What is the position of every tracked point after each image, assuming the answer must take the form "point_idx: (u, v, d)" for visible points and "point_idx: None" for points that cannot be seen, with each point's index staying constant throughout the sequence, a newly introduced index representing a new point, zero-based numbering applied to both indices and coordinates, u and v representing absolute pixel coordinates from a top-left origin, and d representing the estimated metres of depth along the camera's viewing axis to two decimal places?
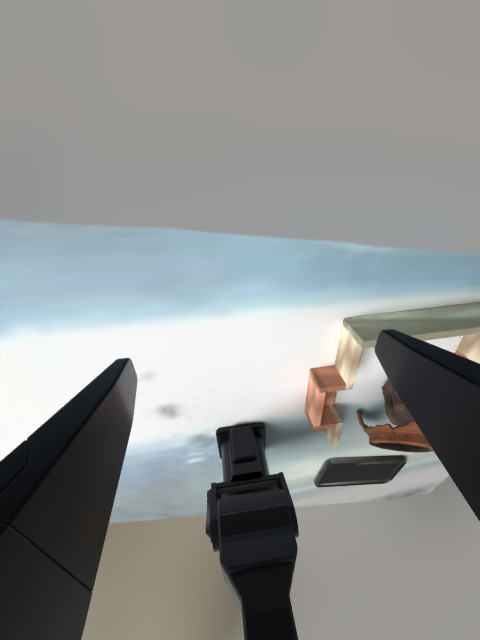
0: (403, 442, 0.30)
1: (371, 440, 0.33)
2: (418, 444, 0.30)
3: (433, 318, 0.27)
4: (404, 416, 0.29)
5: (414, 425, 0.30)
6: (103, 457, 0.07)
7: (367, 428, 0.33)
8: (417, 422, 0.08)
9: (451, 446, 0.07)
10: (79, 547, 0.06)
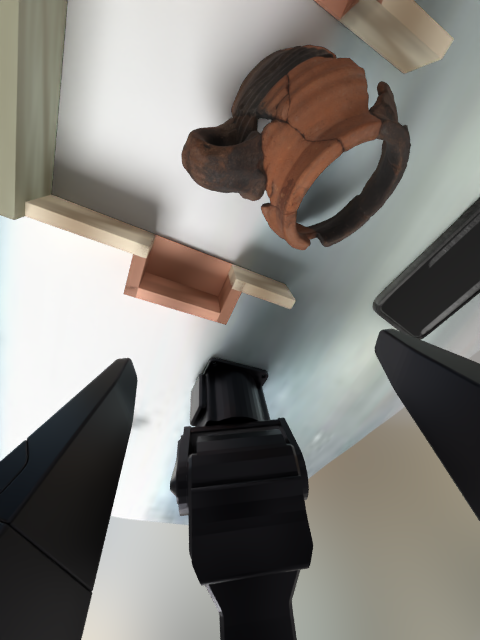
0: (291, 204, 0.13)
1: (296, 248, 0.16)
2: (313, 173, 0.12)
3: None
4: (217, 178, 0.13)
5: (274, 156, 0.12)
6: (103, 457, 0.07)
7: (283, 238, 0.17)
8: (417, 422, 0.08)
9: (451, 446, 0.07)
10: (79, 547, 0.06)
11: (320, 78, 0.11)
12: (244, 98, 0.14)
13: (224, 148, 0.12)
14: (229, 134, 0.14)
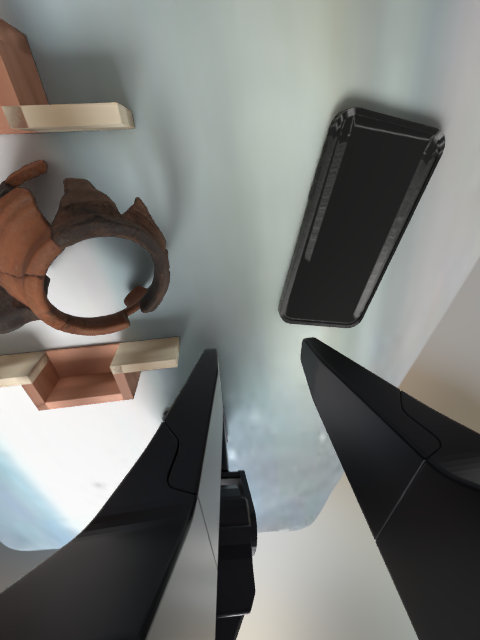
0: (51, 324, 0.14)
1: None
2: (36, 302, 0.13)
3: None
4: None
5: (17, 294, 0.14)
6: (217, 441, 0.07)
7: None
8: (329, 435, 0.08)
9: (352, 461, 0.07)
10: (213, 525, 0.06)
11: None
12: None
13: None
14: None
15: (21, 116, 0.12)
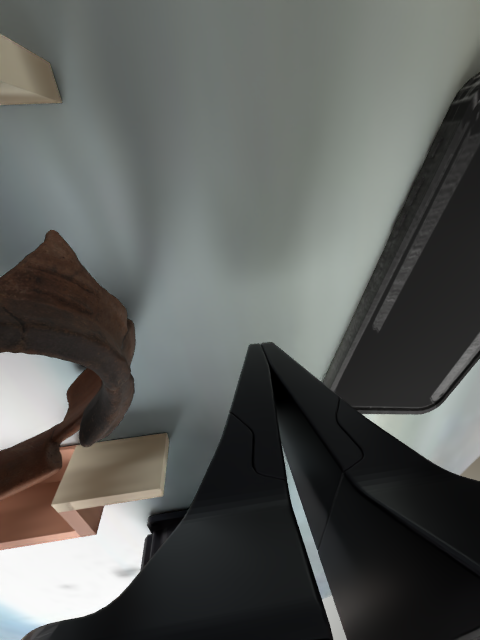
0: None
1: (39, 479, 0.09)
2: None
3: None
4: None
5: None
6: None
7: None
8: (281, 441, 0.08)
9: (297, 469, 0.07)
10: None
11: None
12: None
13: None
14: None
15: None
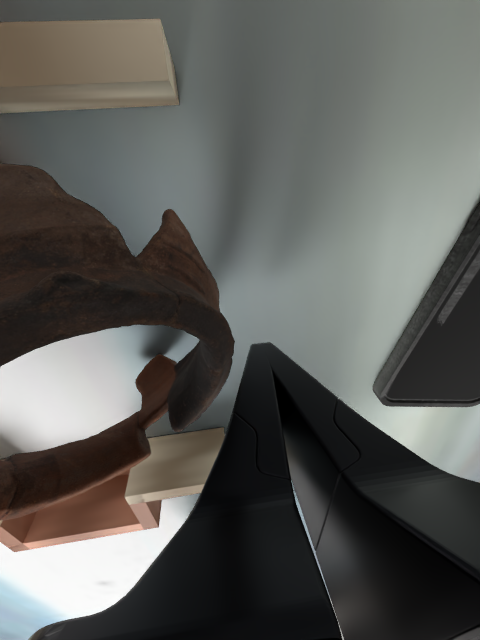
0: None
1: None
2: None
3: None
4: None
5: None
6: None
7: None
8: None
9: (295, 470, 0.07)
10: None
11: None
12: None
13: None
14: None
15: None
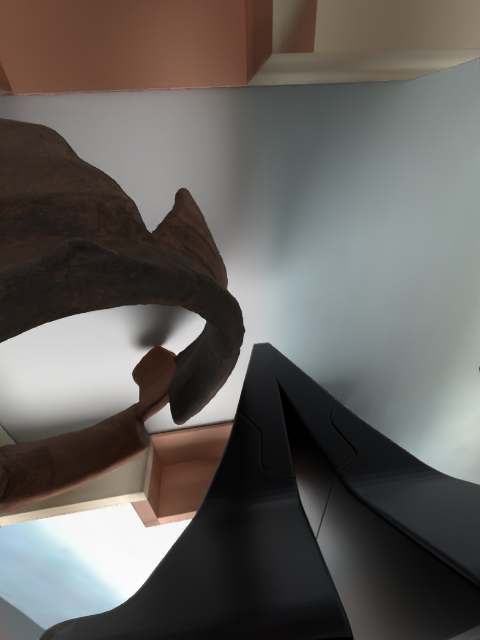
0: None
1: None
2: None
3: None
4: None
5: None
6: None
7: None
8: None
9: None
10: None
11: None
12: None
13: None
14: None
15: (310, 20, 0.05)
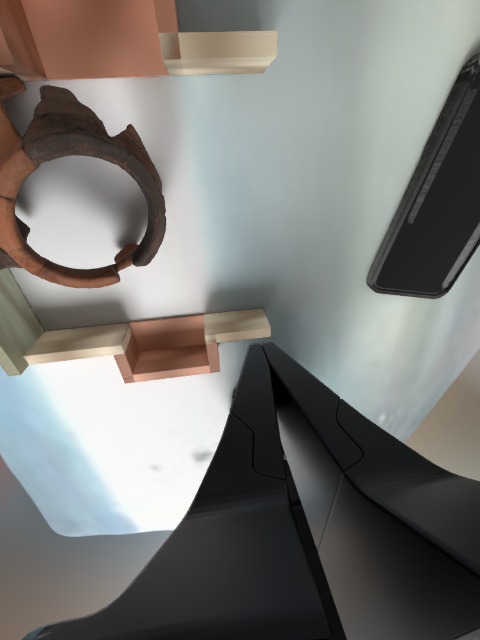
0: (26, 266, 0.12)
1: (107, 285, 0.15)
2: (5, 234, 0.11)
3: None
4: None
5: None
6: None
7: None
8: (281, 441, 0.08)
9: (297, 469, 0.07)
10: None
11: None
12: None
13: None
14: None
15: (177, 46, 0.11)
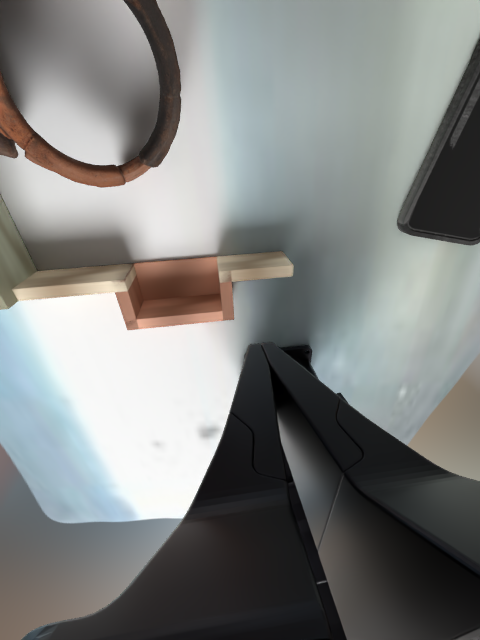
0: (10, 130, 0.10)
1: (110, 186, 0.13)
2: None
3: None
4: None
5: None
6: None
7: None
8: (281, 441, 0.08)
9: (297, 469, 0.07)
10: None
11: None
12: None
13: None
14: None
15: None
